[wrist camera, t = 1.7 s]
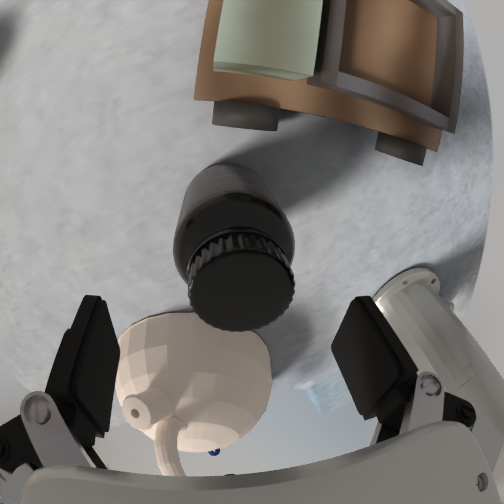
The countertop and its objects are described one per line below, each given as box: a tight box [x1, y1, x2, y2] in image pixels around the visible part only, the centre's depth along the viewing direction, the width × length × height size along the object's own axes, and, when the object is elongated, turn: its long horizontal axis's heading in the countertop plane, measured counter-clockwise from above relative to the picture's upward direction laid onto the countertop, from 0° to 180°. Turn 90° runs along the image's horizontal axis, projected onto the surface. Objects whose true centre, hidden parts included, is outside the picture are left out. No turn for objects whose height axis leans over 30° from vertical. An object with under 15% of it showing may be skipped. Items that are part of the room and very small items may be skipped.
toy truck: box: [194, 0, 464, 166], centre depth 12 cm, size 20×19×7 cm
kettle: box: [115, 313, 272, 476], centre depth 25 cm, size 20×21×18 cm
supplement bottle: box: [173, 163, 295, 332], centre depth 17 cm, size 7×7×12 cm
